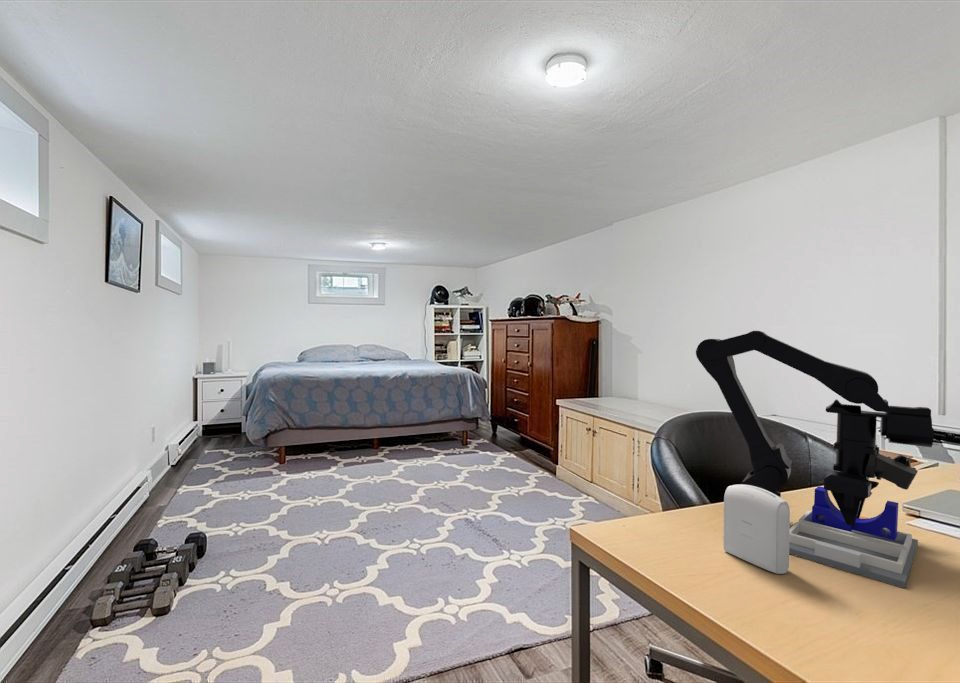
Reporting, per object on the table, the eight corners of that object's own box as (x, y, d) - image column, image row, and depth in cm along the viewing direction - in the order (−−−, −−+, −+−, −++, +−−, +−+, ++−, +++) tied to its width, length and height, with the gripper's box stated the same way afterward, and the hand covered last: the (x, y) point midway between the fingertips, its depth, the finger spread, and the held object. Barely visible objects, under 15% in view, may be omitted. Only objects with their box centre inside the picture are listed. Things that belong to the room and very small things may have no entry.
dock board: (905, 588, 72) (905, 568, 72) (776, 550, 84) (777, 533, 84) (917, 545, 87) (918, 529, 87) (807, 518, 99) (807, 503, 99)
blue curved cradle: (811, 521, 91) (812, 490, 91) (817, 516, 95) (818, 486, 94) (893, 542, 83) (895, 508, 83) (896, 535, 86) (898, 502, 86)
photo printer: (718, 550, 84) (720, 480, 84) (734, 545, 86) (736, 477, 85) (776, 577, 74) (779, 499, 74) (793, 572, 76) (795, 495, 76)
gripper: (908, 455, 76) (905, 552, 76) (919, 439, 89) (915, 521, 89) (824, 442, 84) (821, 530, 84) (844, 429, 97) (842, 505, 97)
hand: (852, 521), depth 89 cm, fingers closed on blue curved cradle, 5 cm apart
